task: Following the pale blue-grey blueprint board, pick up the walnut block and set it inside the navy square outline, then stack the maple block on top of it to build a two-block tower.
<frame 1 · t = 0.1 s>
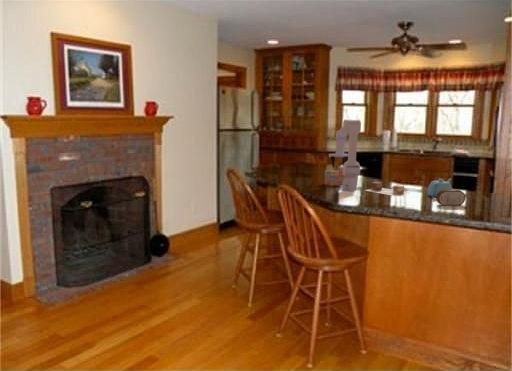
hand: (338, 167, 304), 11 cm above the counter, tool pointing down, fingers open, 7 cm apart
teapot: (440, 197, 258), on the counter
tin: (450, 205, 236), on the counter
walnut block: (376, 189, 275), point 1 cm above the counter, touching blueprint board
blueprint board: (387, 192, 269), on the counter
maple block: (398, 193, 263), point 1 cm above the counter, touching blueprint board
stack of blocks: (340, 185, 296), on the counter
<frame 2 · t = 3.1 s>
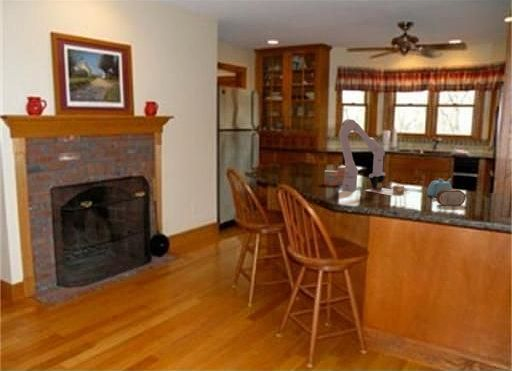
hand: (376, 188, 275), 2 cm above the counter, tool pointing down, fingers closed on walnut block, 4 cm apart
walnut block: (376, 189, 275), point 1 cm above the counter, touching blueprint board, gripper
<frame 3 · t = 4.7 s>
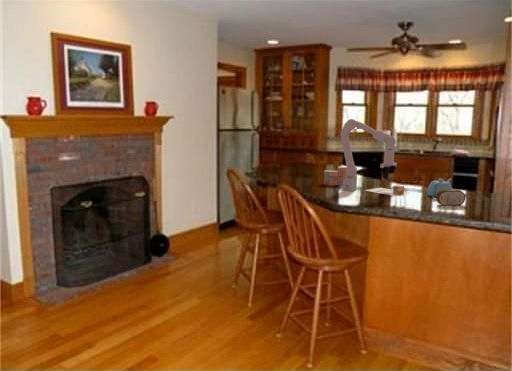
hand: (387, 178, 268), 9 cm above the counter, tool pointing down, fingers closed on walnut block, 4 cm apart
walnut block: (387, 180, 268), point 8 cm above the counter, touching gripper
when the fingers open (3 cm above the counter, at t = 6.5 s): walnut block drops 1 cm, resting on blueprint board.
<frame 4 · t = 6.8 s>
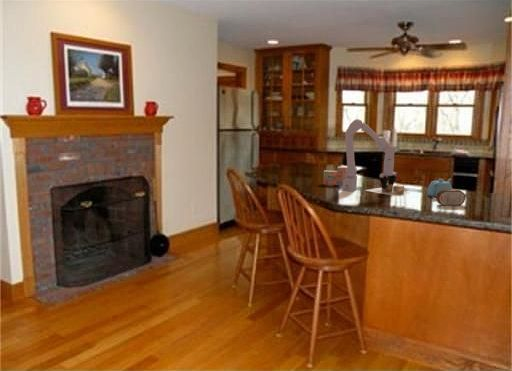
hand: (387, 188, 269), 3 cm above the counter, tool pointing down, fingers open, 6 cm apart
walnut block: (387, 191, 269), point 1 cm above the counter, touching blueprint board
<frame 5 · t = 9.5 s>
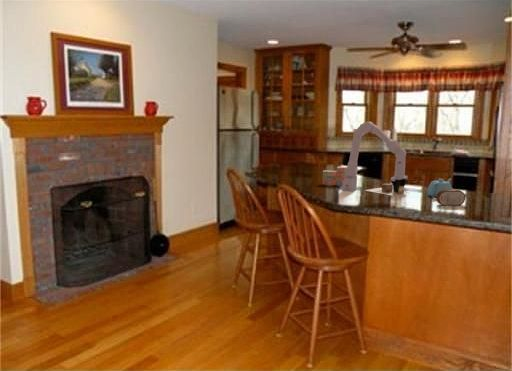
hand: (398, 191, 263), 2 cm above the counter, tool pointing down, fingers closed on maple block, 4 cm apart
maple block: (398, 193, 263), point 1 cm above the counter, touching blueprint board, gripper
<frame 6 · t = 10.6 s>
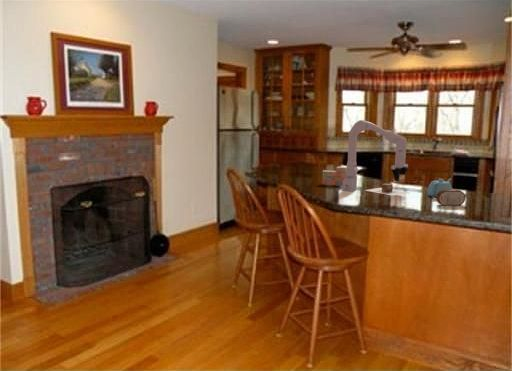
hand: (398, 180, 262), 9 cm above the counter, tool pointing down, fingers closed on maple block, 4 cm apart
maple block: (398, 182, 262), point 8 cm above the counter, touching gripper
when the fingers open (7 cm above the counter, at t = 11.8 s): maple block drops 1 cm, resting on walnut block.
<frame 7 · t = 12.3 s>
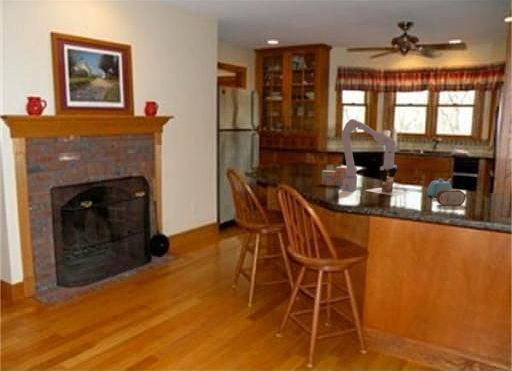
hand: (387, 180, 268), 7 cm above the counter, tool pointing down, fingers open, 7 cm apart
walnut block: (387, 191, 269), point 1 cm above the counter, touching blueprint board, maple block
maple block: (387, 184, 268), point 5 cm above the counter, touching walnut block
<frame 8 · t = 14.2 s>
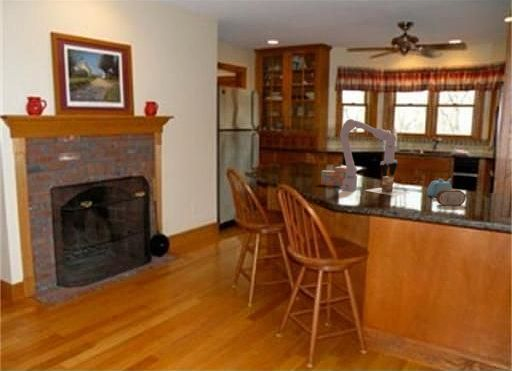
hand: (388, 175, 268), 10 cm above the counter, tool pointing down, fingers open, 7 cm apart
at the end: walnut block 0.1 cm from the target spot, point 0.6 cm above the counter; maple block 0.3 cm from the walnut block (horizontally); maple block point 5.1 cm above the counter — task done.
